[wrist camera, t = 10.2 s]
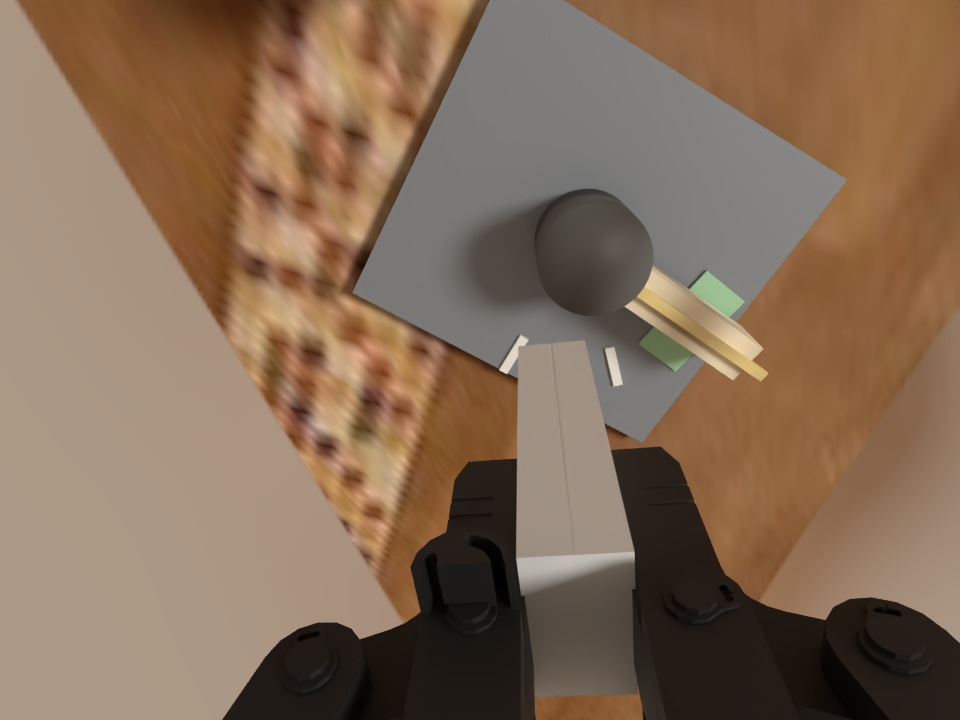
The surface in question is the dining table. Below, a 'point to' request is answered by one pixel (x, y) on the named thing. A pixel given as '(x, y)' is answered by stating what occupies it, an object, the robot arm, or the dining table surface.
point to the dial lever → (630, 279)
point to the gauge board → (584, 165)
